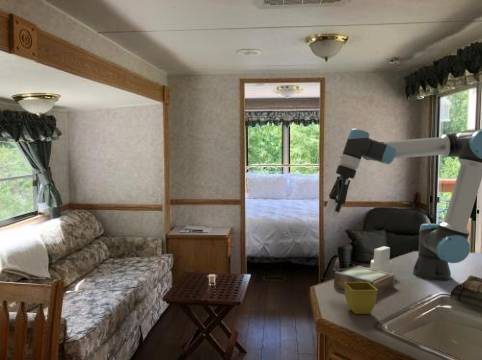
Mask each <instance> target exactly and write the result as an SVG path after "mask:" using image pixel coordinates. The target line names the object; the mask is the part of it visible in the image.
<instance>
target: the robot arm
mask: <svg viewBox="0 0 482 360" xmlns="http://www.w3.org/2000/svg"><path fill="white" fill-rule="evenodd" d="M430 156H442V157H443V158H449V157H454V158H455V157H456V158H458V159H457V160H458V161H459V163H460V166H459V169H458V173H457V176H456V180H455V184H454V185H453V186H454V187H453V189H452V194H451V196H450V200H449V203H448V206H447V210H446V213H445V216H444V219H443V221H442V222H440V223H422V224H420V227H419V230H418V231H419V233H418V234H419V236H418V254H417V255H418V256H417V259H416V260H415V264H414V265H413V268H412V270H413V271H412V273H413V275H414V276H415V277H418V278H421V279H424V280H429V281H440V282H441V281H443V282H444V281H448V280H451V279H452V277H451V275H452V273H451V268H450V265H449V263H450V264H457V263H458V264H459V263H461V262H463V261H465V260H466V259H467V258H468V257H469V255H470V252H471V245H470V242H469V240H468V239H469V236H470V231H469V229H468V225H469V221H470V218H471V215H472V211H473V208H474V205H475V202H476V199H477V195H478V193H479V189H480V186H481V182H482V128H480V129H479V128H478V129H470V130H461V131H458V132H454V133H447V134H446V133H445V134H442V135H441V136H439V137H426V138H413V139H412V138H411V139H401V140H388V141H387V140H386V141H378V140H375V139H372V138H370V133H369V132H368V131H365V130H363V129H359V128H352V129H350V132H349V133H348V136H347V138H346V143H345V146H344V149H343V152H342V155H340V156H339V164H338V165H337V168H336V171H335V173H336V175H339V176H337V177H336V180H335V182H334V184H333V186H332V188H331V191H330V193H329V194H328V196H329V197H328V201H327V203H326V207H325V209H324V212H323V213H324V214H327V215H329V216H330V219H331V220H334V221H338V219H339V216H340V213H341V211H342V208H343V205H345V203H346V200H347V197H348V196H347V195H348V192H349V191H348V190H349V187H350V183H351V180H350V179H352V180H353V179H355V177H356V173H357V169H358V168H359V165H360V163H361V159H364V160H366V161H374V162H379V163H382V164H386V165H390V164H392V162H393V161H394V159H403V158H404V159H405V158H415V157H417V158H418V157H430ZM349 178H350V179H349Z"/></svg>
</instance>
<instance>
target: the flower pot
mask: <svg viewBox="0 0 482 360" xmlns="http://www.w3.org/2000/svg"><path fill="white" fill-rule="evenodd" d="M344 286H345V290H344V295H345V296H344V297H345V300H346V303H347V305H348V308H349V309H350V310H351V311H352V313H354V314H355V315H369V314H370V313H371V312H372V311H373V309H374V308H375V306H376V303H377V296H378V295H377V292H378V290H377V289H376V288H375V287H373V286H372V285H371V284H370V283H369V282H344Z"/></svg>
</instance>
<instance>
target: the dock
mask: <svg viewBox="0 0 482 360" xmlns="http://www.w3.org/2000/svg"><path fill="white" fill-rule="evenodd" d="M333 273H334V277H333V287H334V288H336V289H340V290H344V291H345V286H344V282H369V283H370V284H371V285H372V286H373V287H375V288H376V289H377V290H378V292H377V296H378V295H380V294H383V293H384V292H386V291H388V290H390V289H393V288H394V287H395V274H394V273H392V274H390V273H386V272H382V271H378V270H374V269H371V268H369V267H364V266H361V265H358V266H357V265H356V266H355V267H352V268H349V269H346V270H343V271H334V272H333Z"/></svg>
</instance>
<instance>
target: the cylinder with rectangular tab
mask: <svg viewBox="0 0 482 360" xmlns="http://www.w3.org/2000/svg"><path fill="white" fill-rule="evenodd" d="M390 255H391V247H389V246H384V245H383V246H380V247H378V248H377V247H376V248H374V252H373V259H371V260H370V269H374V270H378V271H382V272H386V273H390V274H393V262H392V261H391V260H390V259H391V258H390V257H391V256H390Z"/></svg>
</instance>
